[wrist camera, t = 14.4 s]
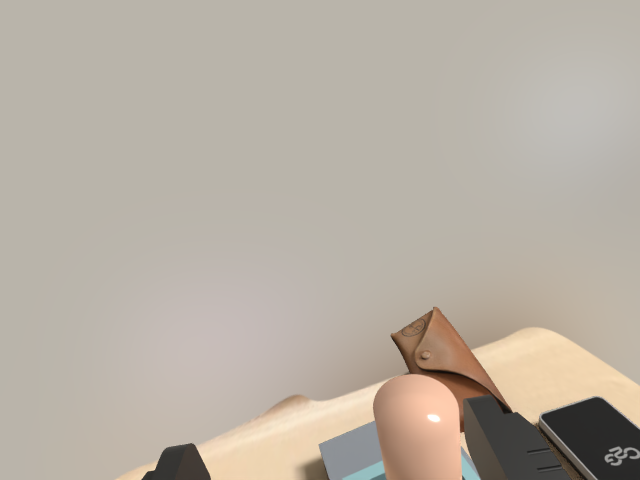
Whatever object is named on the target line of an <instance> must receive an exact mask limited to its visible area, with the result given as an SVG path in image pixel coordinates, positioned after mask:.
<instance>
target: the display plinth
mask: <svg viewBox="0 0 640 480" xmlns="http://www.w3.org/2000/svg"><path fill="white" fill-rule="evenodd" d="M318 445H319V448H320V451H321V455H322V458H323V462H324V465H325V468H326V471H327V474H328V477H329V480H386V476H385V470H384V465H383V460H382V454H381V449H380V443H379V438H378V433H377V427H376V422H375V421H373V422H371V423H368V424H366V425H363V426H361V427H359V428H356V429H354V430H352V431H349V432H347V433H344V434H342V435H340V436H337V437H335V438H333V439H330V440H328V441H325V442H323V443H321V444H318ZM461 466H462V480H481V479H480V477H479V474H478V472H477V470H476V468H475V465H474V463H473V461H472V460H471V459H470V457H469V456H468V455H467V453H466V452H465V451H464V449H463V448H462V447H461Z"/></svg>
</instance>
